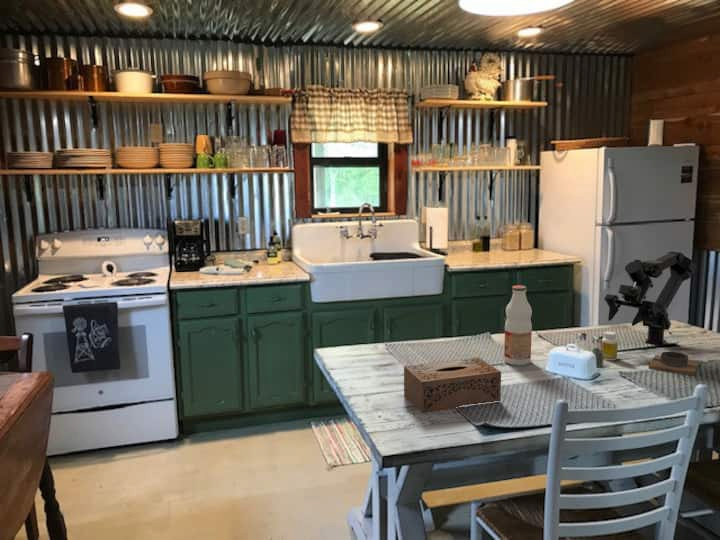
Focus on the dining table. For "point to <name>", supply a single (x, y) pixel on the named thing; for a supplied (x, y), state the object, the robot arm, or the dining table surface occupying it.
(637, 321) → the robot arm
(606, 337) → the supplement bottle
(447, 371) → the tissue box cover
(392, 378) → the dining table surface
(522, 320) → the fruit juice
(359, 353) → the dining table surface
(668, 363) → the bottle holder
